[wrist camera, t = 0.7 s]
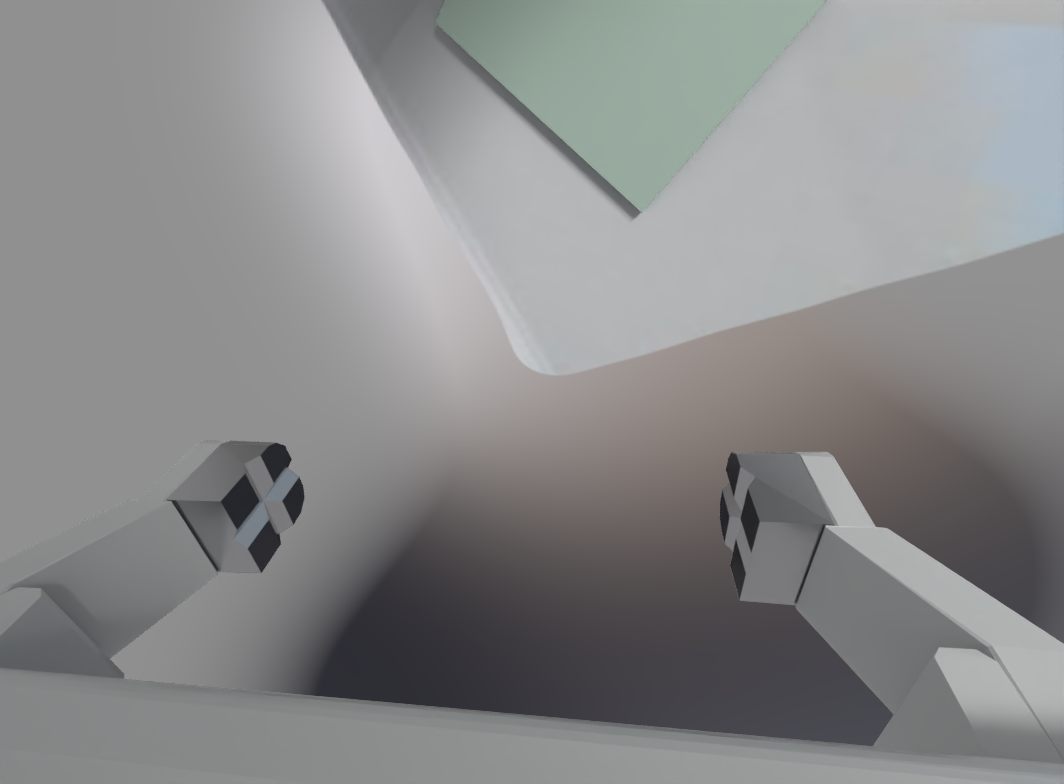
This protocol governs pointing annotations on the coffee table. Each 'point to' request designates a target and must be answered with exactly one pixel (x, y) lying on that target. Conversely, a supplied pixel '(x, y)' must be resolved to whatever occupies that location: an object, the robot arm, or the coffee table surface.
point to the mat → (627, 71)
